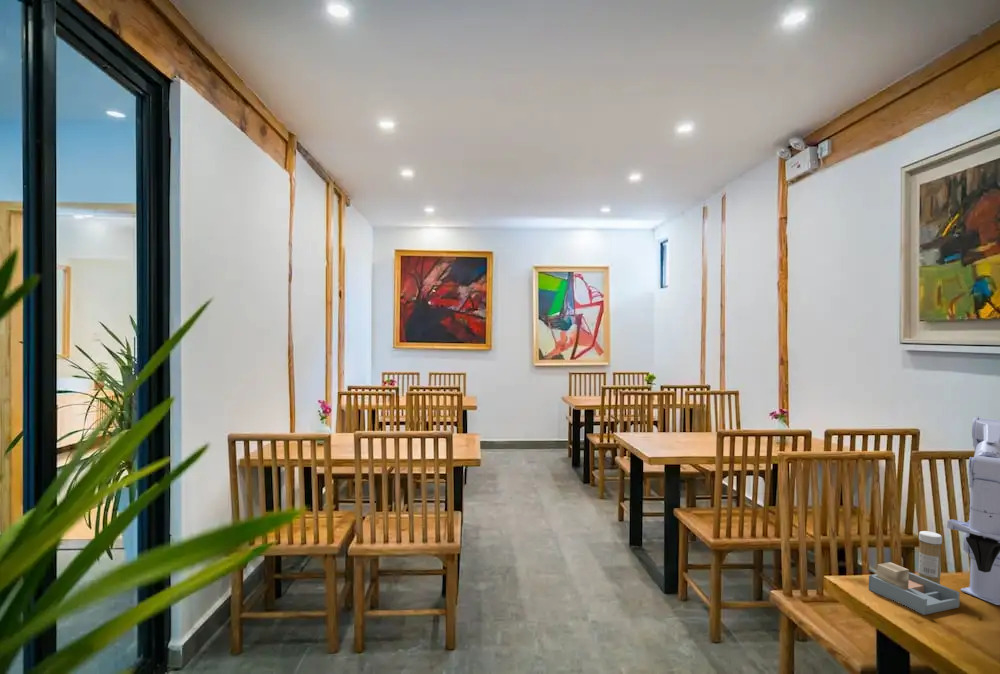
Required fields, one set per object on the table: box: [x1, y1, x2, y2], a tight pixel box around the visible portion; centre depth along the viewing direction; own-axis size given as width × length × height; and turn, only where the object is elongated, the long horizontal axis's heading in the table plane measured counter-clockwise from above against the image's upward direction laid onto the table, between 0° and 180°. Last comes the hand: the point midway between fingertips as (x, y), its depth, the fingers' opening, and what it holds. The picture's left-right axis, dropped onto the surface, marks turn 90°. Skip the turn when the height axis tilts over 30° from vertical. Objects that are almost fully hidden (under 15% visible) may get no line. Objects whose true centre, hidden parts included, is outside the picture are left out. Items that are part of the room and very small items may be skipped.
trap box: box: [868, 571, 961, 616], centre depth 134 cm, size 12×13×4 cm
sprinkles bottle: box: [918, 530, 943, 585], centre depth 140 cm, size 5×5×13 cm
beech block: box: [876, 561, 910, 589], centre depth 136 cm, size 4×4×4 cm
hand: (984, 570), depth 126 cm, fingers closed
